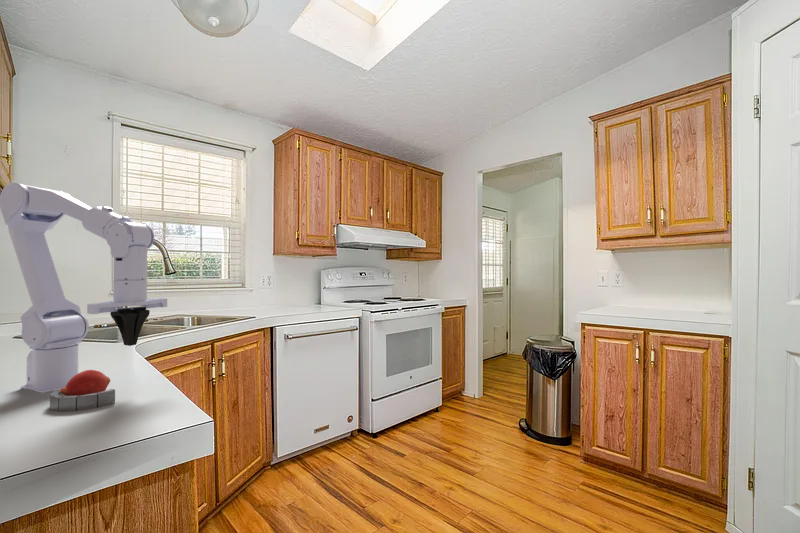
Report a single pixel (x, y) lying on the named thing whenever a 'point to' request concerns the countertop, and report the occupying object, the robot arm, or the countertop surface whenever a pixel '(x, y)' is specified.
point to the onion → (86, 383)
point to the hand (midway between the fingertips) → (130, 344)
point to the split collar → (80, 400)
